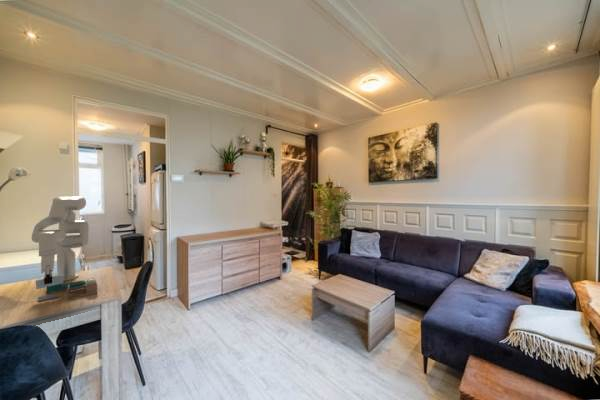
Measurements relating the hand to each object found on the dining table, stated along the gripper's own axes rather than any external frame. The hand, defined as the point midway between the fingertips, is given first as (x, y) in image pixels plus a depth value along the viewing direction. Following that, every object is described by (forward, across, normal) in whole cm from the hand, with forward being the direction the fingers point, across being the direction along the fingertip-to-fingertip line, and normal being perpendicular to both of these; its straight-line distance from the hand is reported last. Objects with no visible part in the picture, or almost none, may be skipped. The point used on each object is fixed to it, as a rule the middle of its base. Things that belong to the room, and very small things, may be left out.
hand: (48, 282), depth 137 cm
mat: (+9, 0, 0) cm, 9 cm away
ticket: (+2, 0, +1) cm, 2 cm away
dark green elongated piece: (+10, -14, +8) cm, 19 cm away
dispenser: (+9, +7, +15) cm, 19 cm away
